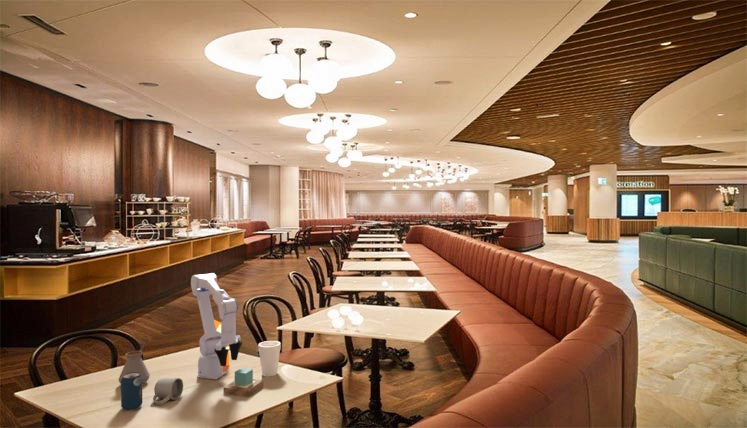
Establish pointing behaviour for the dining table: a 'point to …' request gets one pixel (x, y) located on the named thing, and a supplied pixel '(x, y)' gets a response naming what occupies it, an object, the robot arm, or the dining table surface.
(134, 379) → the soda can
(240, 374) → the teal cube
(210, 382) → the dining table surface
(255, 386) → the walnut base
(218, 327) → the orange juice
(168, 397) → the ceramic mug
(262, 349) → the foam cup
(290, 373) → the dining table surface
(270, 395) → the dining table surface
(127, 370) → the coffee pot
